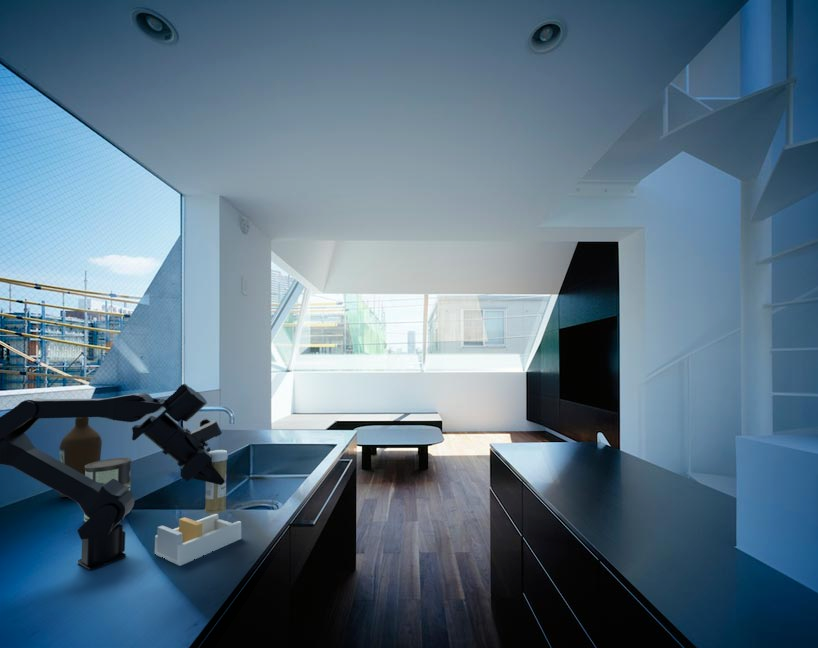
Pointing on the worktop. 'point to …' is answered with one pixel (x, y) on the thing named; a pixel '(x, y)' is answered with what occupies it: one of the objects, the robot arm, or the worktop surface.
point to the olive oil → (80, 446)
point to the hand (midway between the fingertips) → (222, 480)
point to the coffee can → (109, 472)
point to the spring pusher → (189, 529)
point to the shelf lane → (196, 540)
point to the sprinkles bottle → (215, 491)
